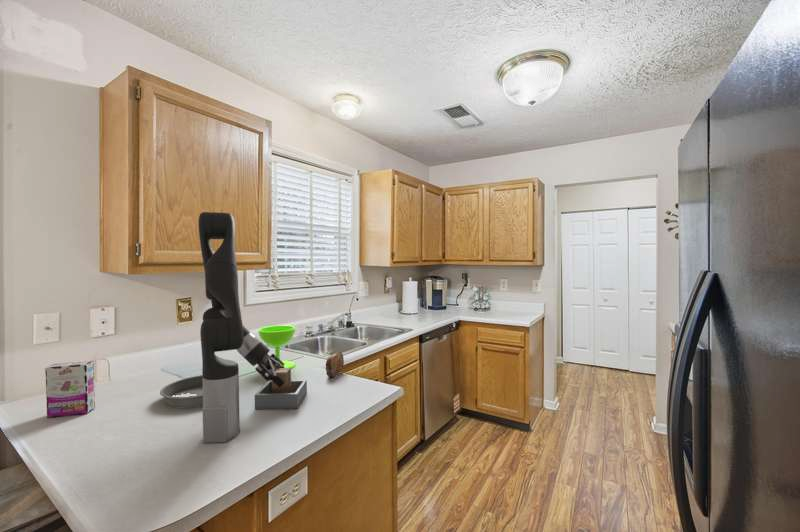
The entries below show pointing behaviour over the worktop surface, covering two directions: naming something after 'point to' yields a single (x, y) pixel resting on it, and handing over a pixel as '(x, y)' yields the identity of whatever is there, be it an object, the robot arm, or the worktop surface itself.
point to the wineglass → (278, 339)
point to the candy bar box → (70, 389)
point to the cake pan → (184, 392)
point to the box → (281, 396)
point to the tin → (334, 364)
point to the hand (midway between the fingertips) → (285, 381)
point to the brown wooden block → (286, 377)
